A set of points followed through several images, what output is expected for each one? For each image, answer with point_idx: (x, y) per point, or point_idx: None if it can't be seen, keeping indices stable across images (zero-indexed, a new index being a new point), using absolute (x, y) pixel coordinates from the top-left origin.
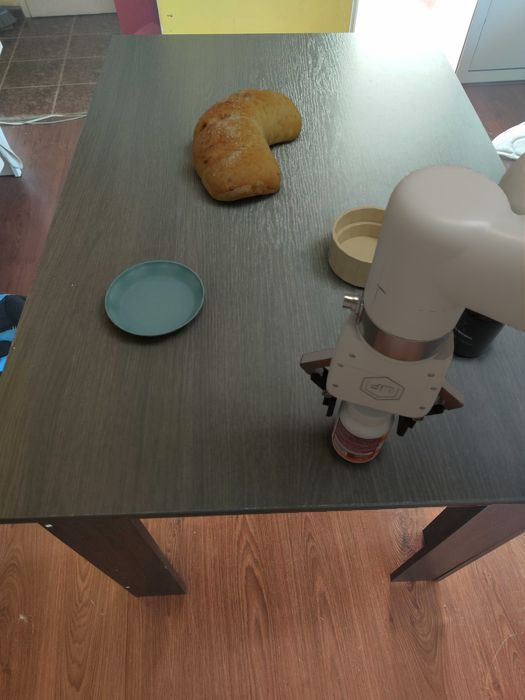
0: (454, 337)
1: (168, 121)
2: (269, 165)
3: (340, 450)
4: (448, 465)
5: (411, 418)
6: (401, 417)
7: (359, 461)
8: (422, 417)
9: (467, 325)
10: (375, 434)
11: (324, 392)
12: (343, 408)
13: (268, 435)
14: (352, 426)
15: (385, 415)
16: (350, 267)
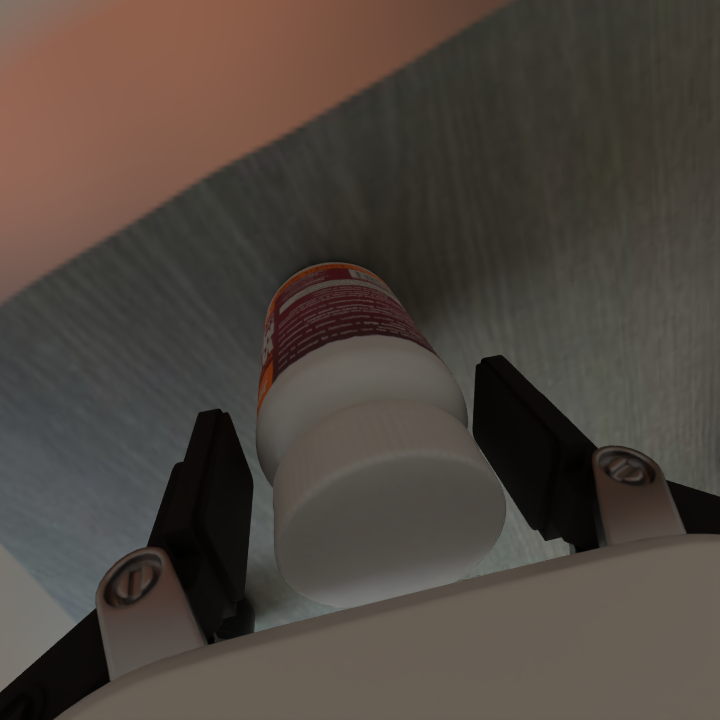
0: (219, 633)
1: None
2: None
3: (369, 276)
4: (77, 372)
5: (172, 546)
6: (233, 489)
7: (304, 272)
8: (100, 609)
9: None
10: (304, 377)
11: (636, 469)
12: (461, 415)
13: (556, 234)
14: (409, 366)
15: (304, 505)
16: None
